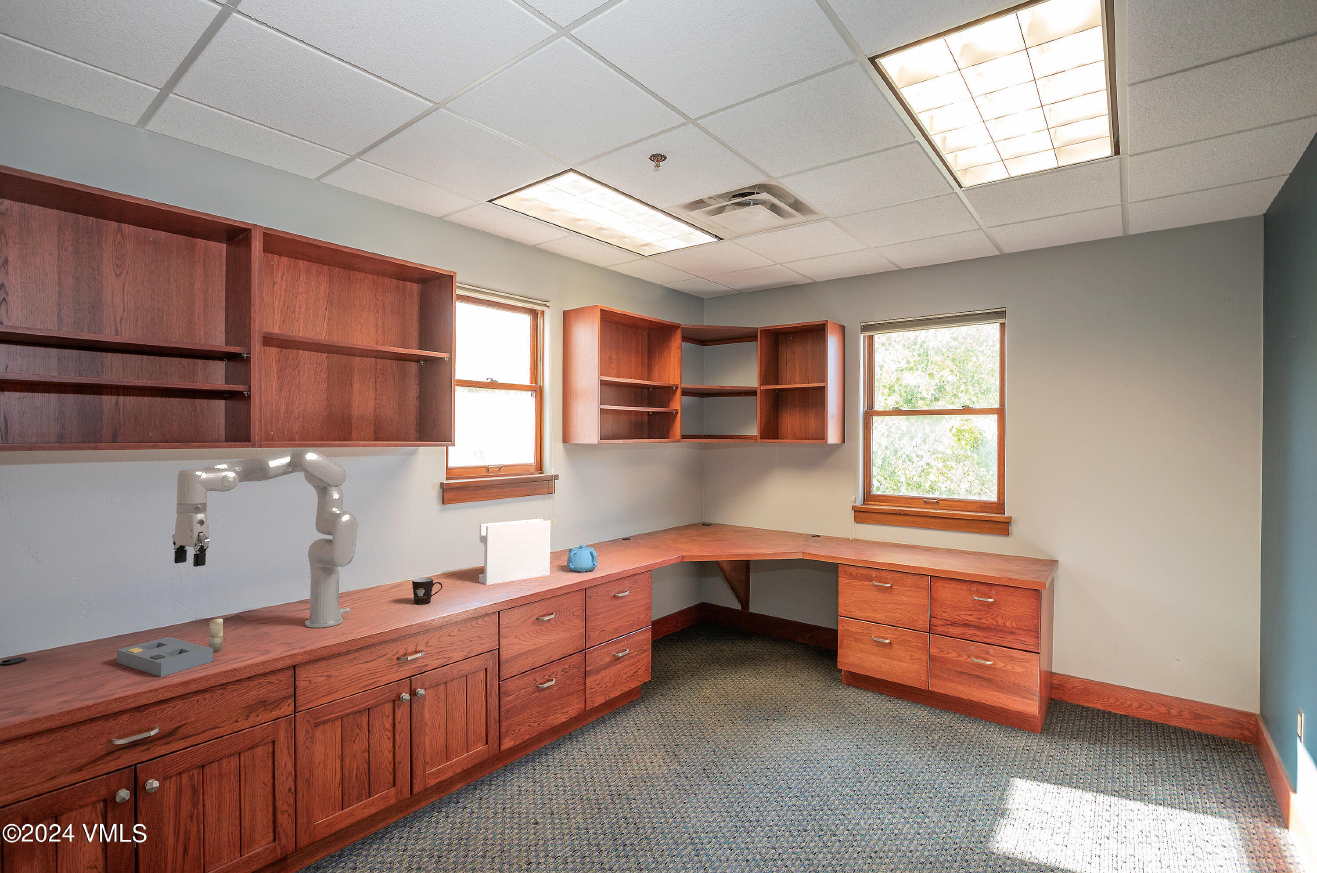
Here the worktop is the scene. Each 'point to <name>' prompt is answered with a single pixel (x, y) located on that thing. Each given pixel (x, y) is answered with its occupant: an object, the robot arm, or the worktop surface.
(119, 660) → the socket block
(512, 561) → the block
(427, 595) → the coffee mug
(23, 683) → the worktop surface
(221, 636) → the plug
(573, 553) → the decorative pot
